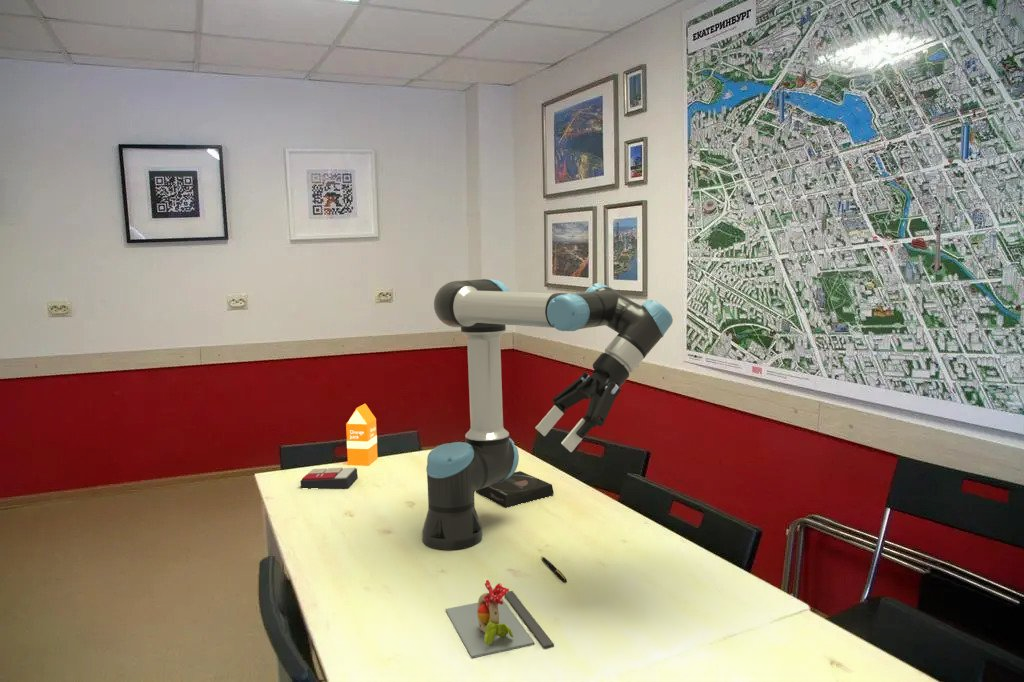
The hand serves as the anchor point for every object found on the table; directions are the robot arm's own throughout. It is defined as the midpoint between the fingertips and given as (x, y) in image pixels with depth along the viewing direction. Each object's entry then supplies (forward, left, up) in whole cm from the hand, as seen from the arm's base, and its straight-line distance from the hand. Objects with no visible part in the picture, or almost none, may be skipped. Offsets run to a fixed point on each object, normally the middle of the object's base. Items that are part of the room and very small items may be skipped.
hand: (552, 439), depth 145 cm
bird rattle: (+13, -19, -32) cm, 40 cm away
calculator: (-92, -37, -33) cm, 105 cm away
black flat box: (-60, +13, -33) cm, 70 cm away
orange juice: (-112, -24, -33) cm, 119 cm away
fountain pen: (-9, +4, -33) cm, 34 cm away
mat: (+9, -16, -33) cm, 37 cm away
